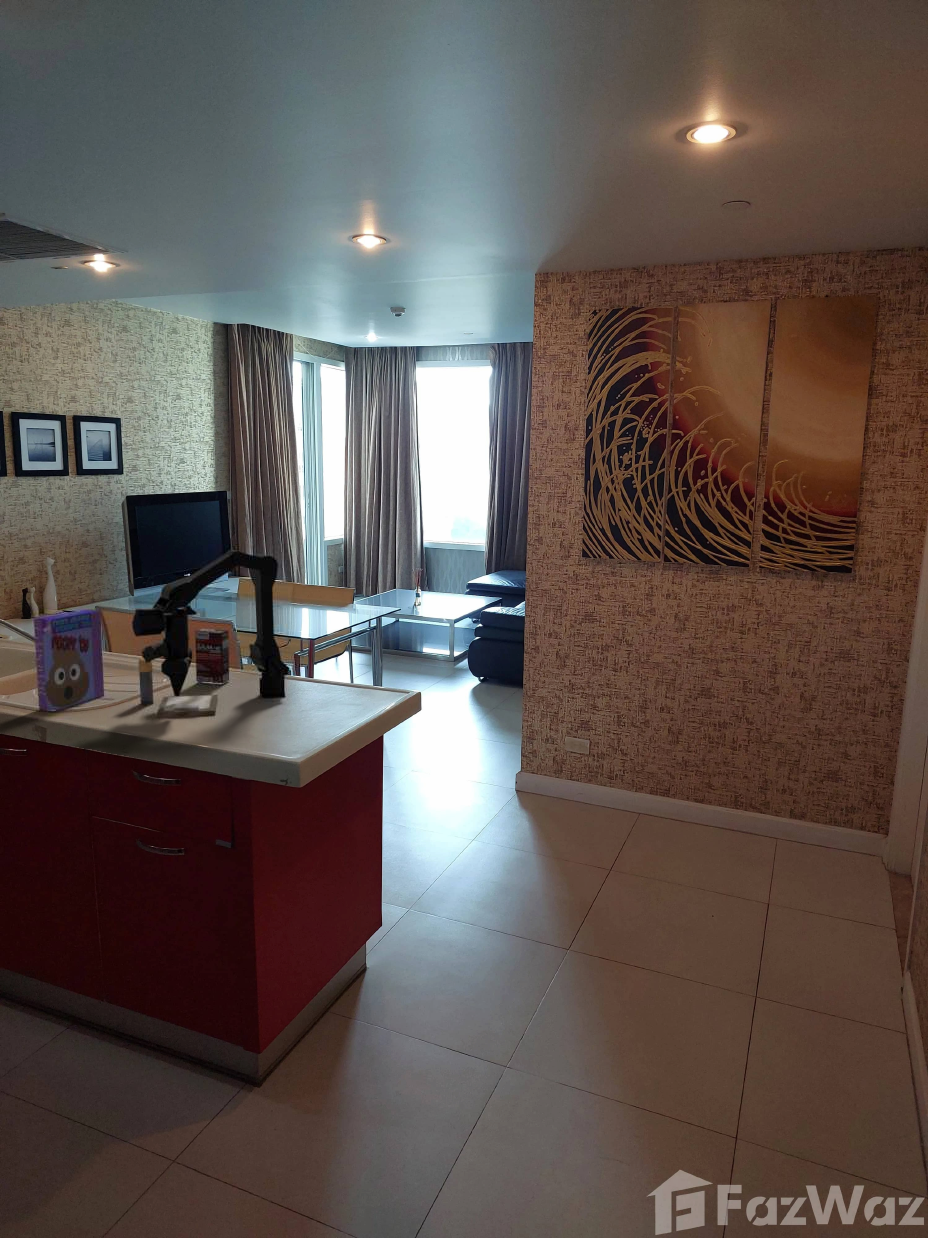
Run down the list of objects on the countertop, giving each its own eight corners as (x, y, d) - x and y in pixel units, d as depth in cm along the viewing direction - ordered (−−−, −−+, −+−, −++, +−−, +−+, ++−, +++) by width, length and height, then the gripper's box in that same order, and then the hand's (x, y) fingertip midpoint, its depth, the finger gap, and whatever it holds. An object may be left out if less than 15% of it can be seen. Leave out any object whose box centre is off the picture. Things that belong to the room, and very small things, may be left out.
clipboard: (217, 698, 221) (217, 691, 221) (215, 715, 206) (214, 706, 206) (163, 701, 218) (163, 693, 217) (157, 717, 202) (156, 709, 202)
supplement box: (195, 683, 237) (194, 631, 235) (203, 680, 242) (202, 628, 239) (223, 685, 236) (221, 632, 233) (230, 681, 240) (229, 629, 238)
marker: (154, 701, 217) (153, 658, 215) (152, 705, 214) (151, 660, 212) (141, 702, 216) (139, 658, 214) (139, 705, 213) (137, 661, 211)
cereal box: (53, 712, 205) (48, 619, 201) (39, 710, 206) (33, 617, 202) (104, 696, 221) (100, 610, 217) (90, 694, 223) (86, 608, 219)
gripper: (147, 627, 213) (149, 684, 215) (138, 640, 195) (140, 702, 197) (191, 626, 216) (193, 683, 218) (186, 639, 198) (188, 700, 200)
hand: (178, 691), depth 208 cm, fingers open, 8 cm apart
